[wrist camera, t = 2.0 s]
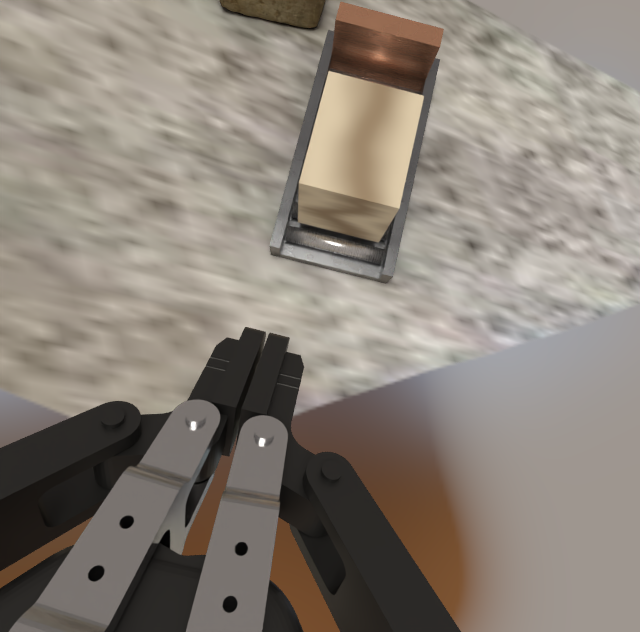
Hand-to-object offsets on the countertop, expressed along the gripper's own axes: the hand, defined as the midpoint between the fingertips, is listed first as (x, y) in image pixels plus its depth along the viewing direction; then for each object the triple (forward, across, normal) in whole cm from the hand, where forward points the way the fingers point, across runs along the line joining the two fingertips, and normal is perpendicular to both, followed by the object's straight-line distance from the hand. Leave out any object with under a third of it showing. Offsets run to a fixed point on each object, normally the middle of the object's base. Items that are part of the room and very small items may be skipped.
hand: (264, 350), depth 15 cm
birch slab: (+30, -2, +3) cm, 30 cm away
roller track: (+34, -2, +2) cm, 35 cm away
